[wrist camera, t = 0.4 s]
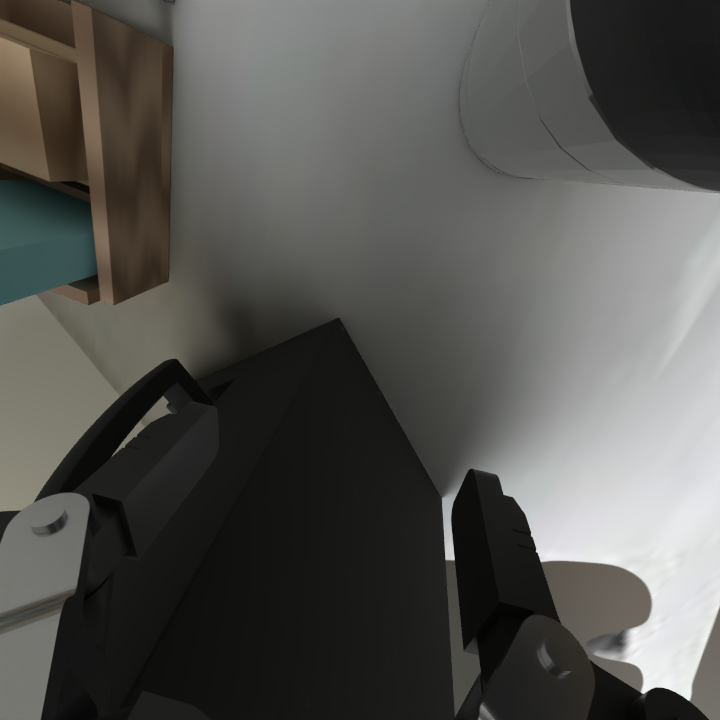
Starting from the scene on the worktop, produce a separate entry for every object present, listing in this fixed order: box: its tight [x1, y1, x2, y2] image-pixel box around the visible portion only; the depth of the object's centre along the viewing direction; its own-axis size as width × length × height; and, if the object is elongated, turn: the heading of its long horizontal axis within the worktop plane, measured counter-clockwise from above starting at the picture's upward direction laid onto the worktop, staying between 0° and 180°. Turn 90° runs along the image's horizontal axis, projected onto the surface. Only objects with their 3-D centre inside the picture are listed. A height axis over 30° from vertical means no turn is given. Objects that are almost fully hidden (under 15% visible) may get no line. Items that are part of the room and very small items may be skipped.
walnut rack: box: [0, 0, 173, 305], centre depth 22 cm, size 16×12×7 cm
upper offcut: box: [0, 32, 89, 182], centre depth 19 cm, size 6×7×3 cm
